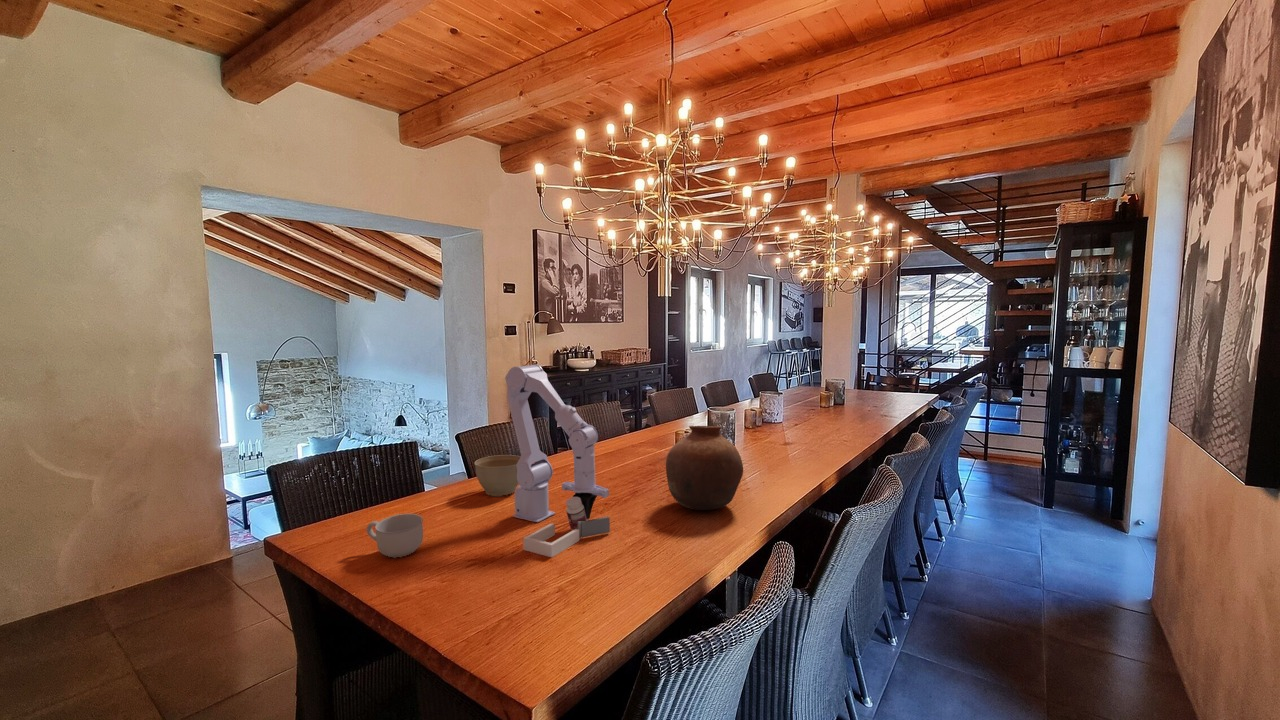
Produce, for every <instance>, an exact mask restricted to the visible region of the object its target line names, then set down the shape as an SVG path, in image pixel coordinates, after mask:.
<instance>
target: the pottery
mask: <svg viewBox="0 0 1280 720" xmlns="http://www.w3.org/2000/svg"><path fill="white" fill-rule="evenodd" d="M689 429H690V430H691V433H690V434H688V435H687V436H685V437H684V438H681V439H680V440H679V441H677V442H676V443H675V444H674V445H673V446H672V447H671V448H670V450H668V453H667V456H666V462H665V471H666V479H667V486H668V489H669V492H670V494H671V496H672V497H673V499H674V500H675V501H676V502H677V503H678V504H679V505H681V506H682V507H684V508H687V509H690V510H697V511H711V510H717V509H721V508H724V507H726V506H727V505H728V504H731V502H732V501H733V499H734V497H735V495H736V492H737V490H738V487H739V485H740V483H741V481H742V479H743V474H744V464H743V460H742V457H741V454H740V452H739V450H738V449H737V447H736V446H735V445H734V444H733V443H732V442H731V441H730V440H729V439H727V438H726V437H724V436H723V435H722V434H721V433H720V431H721V429H723V428H722V426H721V425H719V426H718V425H689Z"/></svg>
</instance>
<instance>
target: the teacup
mask: <svg viewBox="0 0 1280 720" xmlns="http://www.w3.org/2000/svg"><path fill="white" fill-rule="evenodd" d="M423 521H424V519H423V516H421V515H419V514H416V513H401V514H400V513H399V514H395V515H392V516H389V517H385V518H384V519H382V520H379V521H377V520H373V521H370V522H369V523H368V524H367V526H366V533H367V535H368V537H370V539H372V540H374V541H376V546H377V549H378V551H379V552H380V554H382V555H384V556H386V557H387V556H388V557H387V558H390V557H393V558H392V559H397V558H396V557H400V558H403V557H402V556H405V557H407V556H406V555H408V556H409V554H410V555H412V554H413V553H415V552H416V551H417V549H418V548H420V547H421V545H422V543H423V541H424V527H423V526H424V525H423ZM373 527H374V531H375V532H374V531H373ZM411 553H412V554H411Z"/></svg>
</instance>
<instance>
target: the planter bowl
mask: <svg viewBox="0 0 1280 720" xmlns="http://www.w3.org/2000/svg"><path fill="white" fill-rule="evenodd" d="M520 457H521V455H520V456H519V455H515V454H514V455H512V454H500V455H499V454H497V455H489V456H485V457H481V458H479V459H477V460H475V461H474V469H475V474H476V478H477V480H478V483H479V485H480V486H481V488H482V489H483V490H484V491H485V495H487V494H488V495H487V496H489V495H492V496H491V497H503V496H502V495H506V496H509V495H508V494H510V495H512V494H514V493H515V491H516V489H517V487H518V486H519V483H518V481H517V466H516V465H517V463H518V461H519V459H520ZM513 492H514V493H513ZM511 493H512V494H511Z"/></svg>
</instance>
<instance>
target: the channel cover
mask: <svg viewBox="0 0 1280 720" xmlns="http://www.w3.org/2000/svg"><path fill="white" fill-rule="evenodd" d="M610 518H611V517H609V516H604V517H599V518H594V519H587V521H578V529H579V540H580V539H582V538H586V537H593V536H598V535H603V534H608V533H610V532H611V530H610V529H611V528H610V523H611V522H610Z"/></svg>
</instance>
